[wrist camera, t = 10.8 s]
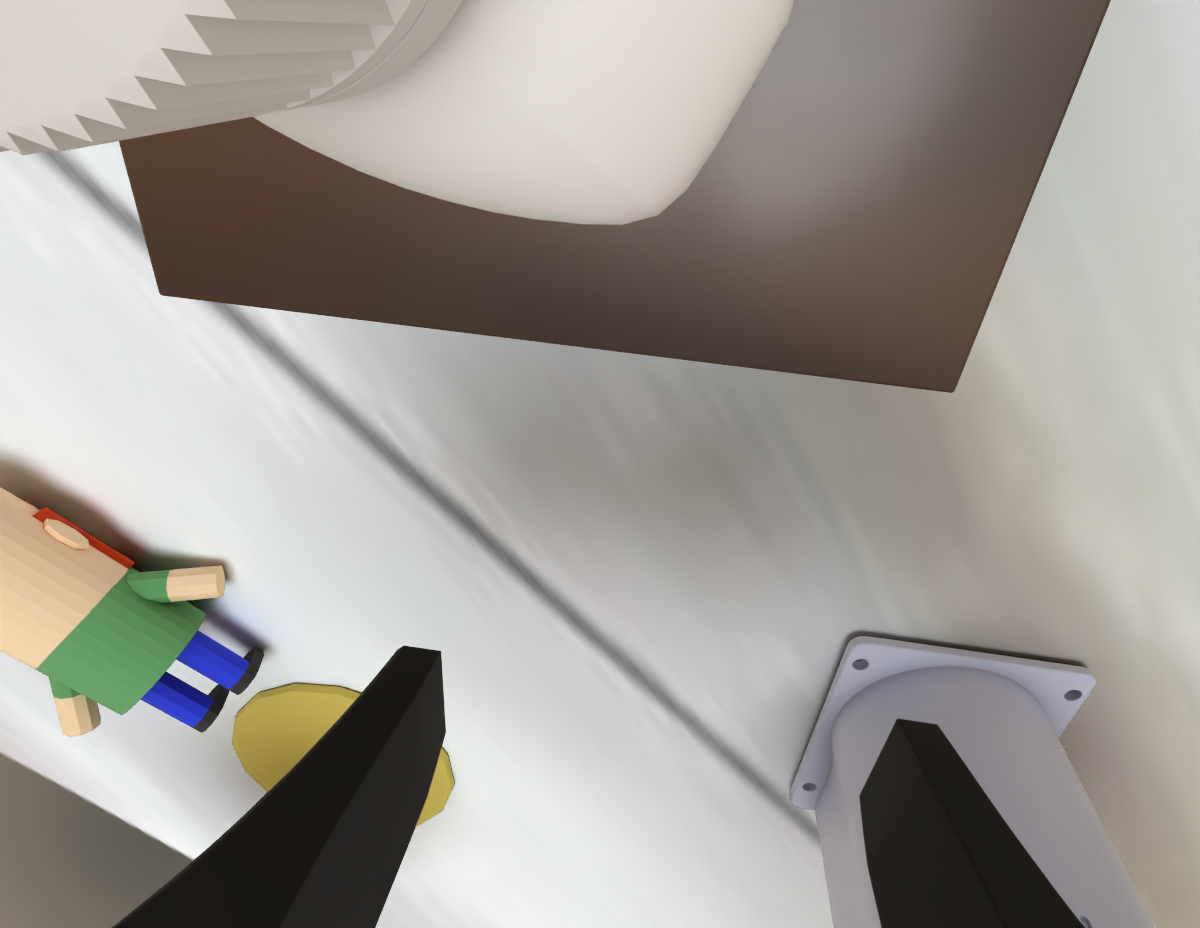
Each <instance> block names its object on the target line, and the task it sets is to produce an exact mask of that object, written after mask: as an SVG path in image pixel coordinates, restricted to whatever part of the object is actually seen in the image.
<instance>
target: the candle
mask: <svg viewBox="0 0 1200 928" xmlns="http://www.w3.org/2000/svg"><path fill="white" fill-rule="evenodd" d="M359 695H360V693H357V692H354V691H351V690H348V689H345V688H342V687H337V686H324V685H310V684H297V683H294V684H290V685H287V686H283V687H279V688H275V689H271V690H267V691H263V692H259V693H258V694H257V695H256V696H255V697H254V698H253V699H252V700H250V701H249V702H248V703H247V704H246V705H245V706H244V707H243V708H242V709H241V710H240V711H239V712H238V713H237V715H236V717H235V725H234V733H233V741H232V745H233V747H234V749H235V751H236V753H237V755H238V757H239V759H240V761H241V763H242V765H243V767H244V769H245V771H246V772H247V773H248V774H249V775H250V776H251V777H252V778H253V779H254V780H255V781H257V782H258V783H259V784H260V785H261V786H262V787H263V788H264V789H265V790H266V791H267V792H268V791H269V790H271V789H272V788H273V787H274V786H275V785H276V784H277V783H278V782H279V781H280V780H281V779H282V778H283V777H284V776H285V775H286V774H287V773H288V772H289V771H290V770H291V769H292V768H293V767H294V766H295V765H296V764H297V763H298V762H299V761H300V760H301V759H302V758H303V757H304V756H305V754H306V753H307V752H308V751H309V750H310V749H311V748H312V747H313V746H314V745H315V744H316V743H317V742H318V741H319V739H320V738H321V737H322V736H323V735H324V734H325V733H326V732H327V731H328V730H329V729H330V728H331V727H332V726H333V725H334V723H335V722H336V721H337V720H338V719H339V718H340V717H341V716H342V715H343V714H344V712H345V711H346V710H347V709H348V708H349V707H350V706H351V705H352V703H353V702H354V701H355V700H356V699H357V698H358V697H359ZM454 783H455V782H454V778H453V774H452V770H451V765H450V761H449V757H448V755H447V753H446V752H445V751H444V750H443V749H442V748H441V751H440V755H439V759H438V762H437V766H436V769H435V773H434V776H433V780H432V783H431V786H430V790H429V793H428V797H427V799H426V802H425V804H424V807H423V809H422V812H421V814H420V817H419V820H418V822H417V825H416V826H418V825H420V824H422V823H423V822H425V821H427V820H428V819H430V818H431V817H433V816H435V815H436V814H438V813H440V812H441V811H442V810H443V809H444V806H445V804H446V802H447V800H448V798H449V795H450V793H451V791H452V789H453V786H454Z"/></svg>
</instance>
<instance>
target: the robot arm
mask: <svg viewBox="0 0 1200 928" xmlns="http://www.w3.org/2000/svg"><path fill="white" fill-rule="evenodd" d="M858 659H864V660H861V661H856V660H858ZM1095 684H1096V679H1095V677H1094V676H1093V674H1092V672H1091V671H1090V670H1089V669H1087V668H1085V667H1081V666H1074V665H1067V664H1060V663H1053V662H1046V661H1039V660H1032V659H1025V658H1018V657H1010V656H1003V655H996V654H989V653H982V652H975V651H968V650H961V649H954V648H947V647H940V646H933V645H926V644H919V643H912V642H905V641H898V640H891V639H884V638H877V637H870V636H859V637H855V638H854V639H852V640H851V641H850V642H849V643H848V645H847V647H846V650H845V652H844V655H843V658H842V660H841V663H840V665H839V668H838V670H837V673H836V675H835V678H834V680H833V683H832V685H831V688H830V691H829V693H828V696H827V698H826V701H825V703H824V706H823V708H822V711H821V713H820V716H819V719H818V721H817V724H816V726H815V729H814V731H813V734H812V736H811V739H810V741H809V744H808V746H807V749H806V752H805V754H804V757H803V759H802V762H801V764H800V767H799V769H798V772H797V774H796V777H795V780H794V782H793V785H792V787H791V790H790V802H791V803H792V804H793V805H794V806H796V807H798V808H802V809H809V810H815V813H816V819H817V825H818V831H819V838H820V844H821V850H822V857H823V863H824V869H825V876H826V882H827V888H828V894H829V901H830V907H831V913H832V920H833V926H834V928H1157V927H1156V925H1155V923H1154V921H1153V919H1152V917H1151V915H1150V913H1149V912H1148V910H1147V908H1146V906H1145V904H1144V902H1143V900H1142V898H1141V896H1140V894H1139V892H1138V890H1137V889H1136V887H1135V885H1134V883H1133V881H1132V879H1131V877H1130V875H1129V873H1128V871H1127V869H1126V867H1125V866H1124V864H1123V862H1122V860H1121V858H1120V856H1119V854H1118V852H1117V850H1116V848H1115V846H1114V844H1113V843H1112V841H1111V839H1110V837H1109V835H1108V833H1107V831H1106V829H1105V827H1104V825H1103V823H1102V821H1101V820H1100V818H1099V816H1098V814H1097V812H1096V810H1095V808H1094V806H1093V804H1092V802H1091V800H1090V798H1089V797H1088V795H1087V793H1086V791H1085V789H1084V787H1083V785H1082V783H1081V781H1080V779H1079V777H1078V775H1077V774H1076V772H1075V770H1074V768H1073V766H1072V764H1071V762H1070V760H1069V758H1068V756H1067V754H1066V752H1065V751H1064V749H1063V747H1062V745H1061V743H1060V741H1059V739H1058V738H1059V737H1060V735H1061V734H1062V732H1063V731H1064V730H1065V728H1066V727H1067V725H1068V724H1069V722H1070V721H1071V720H1072V718H1073V717H1074V715H1075V714H1076V712H1077V711H1078V710H1079V708H1080V707H1081V705H1082V704H1083V702H1084V701H1085V700H1086V698H1087V697H1088V695H1089V694H1090V692H1091V691H1092V690H1093V688H1094V687H1095ZM445 733H446V729H445V712H444V695H443V678H442V660H441V651H437V650H430V649H423V648H416V647H409V646H403V647H401V648H400V649H398V650H397V651H396V652H395V654H394V655H393V656H392V657H391V658H390V660H389V661H388V662H387V663H386V665H385V666H384V667H383V668H382V669H381V671H380V672H379V673H378V674H377V675H376V677H375V678H374V679H373V680H372V681H371V683H370V684H369V685H368V686H367V687H366V688H365V690H364V691H363V692H362V693H361V694H360V695H359V697H358V698H357V699H356V700H355V701H354V702H353V703H352V705H351V706H350V707H349V708H348V709H347V710H346V711H345V712H344V714H343V715H342V716H341V717H340V718H339V719H338V720H337V721H336V722H335V723H334V725H333V726H332V727H331V728H330V729H329V730H328V731H327V732H326V733H325V734H324V735H323V736H322V737H321V738H320V739H319V741H318V742H317V743H316V744H315V745H314V746H313V747H312V748H311V749H310V750H309V751H308V752H307V753H306V754H305V756H304V757H303V758H302V759H301V760H300V761H299V762H298V763H297V764H296V765H295V766H294V767H293V768H292V769H291V770H290V771H289V772H288V773H287V774H286V775H285V776H284V777H283V778H282V779H281V780H280V781H279V782H278V783H277V784H276V785H275V786H274V787H273V788H272V789H271V790H269V791H268V792H267V793H266V794H265V795H264V796H263V797H262V798H261V799H260V800H259V801H258V802H257V803H256V804H255V805H254V806H253V807H252V808H251V809H250V810H249V811H248V812H247V813H246V814H245V815H244V816H243V817H242V818H241V819H239V820H238V821H237V822H236V823H235V824H234V825H233V826H232V827H231V828H230V829H229V830H228V831H226V832H225V833H224V834H223V835H222V836H221V837H220V838H219V839H218V840H216V841H215V842H214V843H213V844H212V845H211V846H210V847H209V848H208V849H206V850H205V851H204V852H203V853H202V854H201V855H199V856H198V857H197V858H196V859H195V860H194V861H193V862H191V863H190V864H189V865H188V866H187V867H186V868H184V869H183V870H182V871H181V872H180V873H179V874H177V875H176V876H175V877H174V878H173V879H172V880H170V881H169V882H168V883H167V884H166V885H164V886H163V887H162V888H160V889H159V890H158V891H157V892H156V893H154V894H153V895H152V896H151V897H149V898H148V899H147V900H146V901H145V902H143V903H142V904H141V905H140V906H138V907H137V908H136V909H135V910H133V911H132V912H131V913H130V914H128V915H127V916H126V917H125V918H124V919H122V920H121V921H120V922H119V923H117V924H116V925H115V926H114V927H112V928H375V927H376V924H377V922H378V919H379V917H380V914H381V912H382V909H383V907H384V904H385V902H386V899H387V897H388V894H389V892H390V889H391V887H392V884H393V882H394V880H395V877H396V875H397V872H398V870H399V867H400V865H401V862H402V860H403V857H404V855H405V852H406V850H407V847H408V845H409V842H410V840H411V837H412V835H413V832H414V830H415V827H416V825H417V822H418V820H419V817H420V814H421V812H422V809H423V807H424V804H425V802H426V799H427V797H428V793H429V790H430V786H431V783H432V780H433V776H434V773H435V769H436V766H437V762H438V759H439V755H440V751H441V748H442V744H443V740H444V737H445Z"/></svg>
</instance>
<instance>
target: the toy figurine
mask: <svg viewBox="0 0 1200 928" xmlns="http://www.w3.org/2000/svg"><path fill="white" fill-rule="evenodd" d="M134 563H135V562H134V561H133V560H131V559H129V558H128V557H126V556H125V555H123V554H121V553H120V552H118V551H117V550H115V549H113V548H111V547H110V546H108V545H106V544H105V543H103V542H102V541H100V540H98V539H97V538H95V537H94V536H92V535H90V534H89V533H87V532H86V531H84V530H82V529H81V528H79V527H78V526H76V525H74V524H73V523H71V522H70V521H68V520H66V519H65V518H63V517H61V516H60V515H58V514H57V513H55V512H53V511H52V510H50V509H49V508H47V507H45V508H43V509H41V510H38V509H37V508H35V507H34V505H32V504H31V503H29V502H27V501H23V500H21V499H20V498H18V497H16V496H15V495H13V494H11V493H10V492H8V491H6V490H5V489H3V488H0V651H2V652H4V653H6V654H8V655H9V656H11V657H13V658H15V659H17V660H19V661H21V662H22V663H24V664H26V665H28V666H30V667H32V668H34V669H36V670H37V671H39V672H41V673H43V674H45V675H47V676H49V680H50V684H51V688H52V692H53V696H54V700H55V704H56V708H57V712H58V716H59V720H60V724H61V728H62V732H63V734H64V735H66V736H69V737H72V736H79V735H83V734H85V733H88V732H90V731H92V730H94V729H95V728H96V727H97V726H98V725H100V722H101V717H100V713H99V708H98V704H97V702H98V703H99V704H101V705H103V706H105V707H107V708H109V709H111V710H113V711H115V712H116V713H118V714H120V715H123V714H124V713H126V712H127V711H128V710H130V709H131V708H132V707H133V706H134V705H135V704H136V703H137V702H138V701H139V700H140V699H141V700H143V701H145V702H146V703H148V704H150V705H152V706H154V707H156V708H157V709H159V710H161V711H163V712H165V713H166V714H168V715H170V716H172V717H174V718H176V719H177V720H179V721H181V722H183V723H185V724H187V725H188V726H190V727H192V728H194V729H196V730H198V731H199V732H201V733H202V732H204V731H206V729H207V728H208V727H209V726H210V725H211V724H212V723H213V722H214V720H215V719H216V718H217V716H218V715H219V713H220V711H221V710H222V708H223V706H224V703H225V701H226V698H227V696H228V693H229V690H230V691H232V692H233V693H235V694H237V695H239V694H241V693H242V692H243V691H244V690H245V689H246V688H247V687H248V686H249V684H250V683H251V682H252V680H253V679H254V678H255V676H256V674H257V672H258V670H259V668H260V665H261V662H262V659H263V657H264V653H263V652H261V651H260V650H258V649H257V648H253V649H251V650H250V651H249V652H248V653H247V654H246V656H245V657H244V658H242V657H241V656H239V655H237V654H236V653H234V652H232V651H231V650H229V649H227V648H226V647H224V646H222V645H221V644H219V643H218V642H216V641H214V640H213V639H211V638H209V637H208V636H206V635H204V634H203V633H201V632H199V631H198V629H199V627H200V626H201V624H202V622H203V621H204V619H205V616H206V613H205V612H203V611H201V610H200V609H198V608H197V607H195V606H193V605H192V604H190V603H188V602H187V601H185V600H196V599H206V598H217V597H221V596H223V594H224V590H225V574H224V569H223V568H222V566H221V565H220V566H208V567H196V568H185V569H173V570H161V571H149V572H139V571H137V570H135V569H134V568H132V567H131V566H132V565H133V564H134ZM176 659H177V660H178V661H180V662H182V663H184V664H185V665H187V666H189V667H190V668H192V669H194V670H196V671H197V672H199V673H201V674H202V675H204V676H206V677H208V678H209V679H211V680H213V681H214V682H216V683H218V685H217V686H216V687H215V688H214V689H213V690H212V691H211V692H210V693H209V695H206V694H204V693H203V692H201V691H199V690H197V689H196V688H194V687H192V686H190V685H189V684H187V683H185V682H183V681H182V680H180V679H178V678H176V677H175V676H173V675H171V674H169V673H168V672H166V671H167V669H168V668H169V667H170V666H171V665H172V663H173V662H174V661H175V660H176Z"/></svg>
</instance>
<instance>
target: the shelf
mask: <svg viewBox="0 0 1200 928" xmlns="http://www.w3.org/2000/svg"><path fill="white" fill-rule="evenodd" d="M1110 1H1111V0H794V3H793V7H792V10H791V14H790V17H789V20H788V21H787V23H786V25H785V27H784V29H783V31H782V33H781V34H780V36H779V38H778V40H777V42H776V44H775V46H774V47H773V49H772V51H771V53H770V55H769V57H768V59H767V61H766V63H765V65H764V66H763V68H762V70H761V72H760V73H759V75H758V77H757V78H756V80H755V82H754V83H753V85H752V87H751V89H750V90H749V92H748V94H747V95H746V97H745V99H744V101H743V102H742V104H741V106H740V107H739V109H738V111H737V112H736V114H735V116H734V117H733V119H732V121H731V122H730V124H729V126H728V127H727V129H726V130H725V132H724V134H723V135H722V137H721V139H720V140H719V142H718V144H717V145H716V147H715V149H714V150H713V152H712V153H711V155H710V156H709V158H708V159H707V161H706V162H705V164H704V165H703V167H702V168H701V170H700V171H699V173H698V174H697V176H696V177H695V178H694V180H693V181H692V183H691V184H690V186H689V187H688V189H687V190H686V191H685V192H684V193H683V194H681V195H680V196H679V197H678V198H677V199H676V200H675V201H674V202H672V203H671V204H670V205H669V206H668V207H667V208H666V209H665V210H663V211H662V212H661V213H660V214H659V215H657V216H654V217H650V218H646V219H642V220H639V221H635V222H631V223H627V224H624V225H600V224H576V223H568V222H558V221H547V220H537V219H530V218H524V217H518V216H512V215H506V214H500V213H494V212H490V211H486V210H482V209H478V208H473V207H469V206H465V205H461V204H457V203H453V202H449V201H445V200H442V199H439V198H435V197H432V196H429V195H426V194H422V193H419V192H416V191H412V190H409V189H406V188H402V187H400V186H397V185H395V184H392V183H389V182H387V181H384V180H381V179H379V178H376V177H373V176H371V175H368V174H366V173H363V172H360V171H358V170H356V169H354V168H352V167H349V166H347V165H345V164H343V163H341V162H338V161H336V160H334V159H332V158H330V157H327V156H325V155H323V154H321V153H319V152H316V151H314V150H312V149H310V148H308V147H306V146H304V145H302V144H300V143H299V142H297V141H295V140H293V139H291V138H289V137H287V136H285V135H284V134H282V133H280V132H278V131H276V130H274V129H272V128H270V127H269V126H267V125H265V124H263V123H262V122H260V121H259V120H257V119H255V118H254V117H248V118H242V119H237V120H231V121H226V122H220V123H215V124H209V125H204V126H198V127H192V128H187V129H181V130H176V131H170V132H165V133H159V134H154V135H148V136H143V137H137V138H131V139H126V140H120V141H119V143H120V147H121V151H122V154H123V158H124V162H125V166H126V169H127V173H128V177H129V181H130V185H131V188H132V192H133V196H134V200H135V203H136V207H137V211H138V215H139V218H140V222H141V226H142V230H143V233H144V237H145V241H146V245H147V248H148V252H149V256H150V260H151V263H152V267H153V271H154V275H155V278H156V282H157V286H158V290H159V293H160V295H163V296H171V297H180V298H188V299H196V300H204V301H212V302H220V303H228V304H236V305H244V306H253V307H261V308H269V309H277V310H285V311H293V312H301V313H309V314H317V315H326V316H334V317H342V318H350V319H358V320H366V321H374V322H382V323H390V324H399V325H407V326H415V327H423V328H431V329H439V330H447V331H455V332H463V333H471V334H480V335H488V336H496V337H504V338H512V339H520V340H528V341H536V342H544V343H553V344H561V345H569V346H577V347H585V348H593V349H601V350H609V351H617V352H626V353H634V354H642V355H650V356H658V357H666V358H674V359H682V360H690V361H699V362H707V363H715V364H723V365H731V366H739V367H747V368H755V369H763V370H772V371H780V372H788V373H796V374H804V375H812V376H820V377H828V378H836V379H845V380H853V381H861V382H869V383H877V384H885V385H893V386H901V387H909V388H917V389H926V390H934V391H942V392H950V393H952V392H954V391H955V389H956V386H957V384H958V381H959V379H960V376H961V374H962V371H963V369H964V366H965V363H966V361H967V358H968V356H969V353H970V351H971V348H972V346H973V343H974V341H975V338H976V336H977V333H978V331H979V328H980V326H981V323H982V321H983V318H984V316H985V313H986V311H987V308H988V306H989V303H990V301H991V298H992V296H993V293H994V291H995V288H996V286H997V283H998V281H999V278H1000V276H1001V273H1002V271H1003V268H1004V266H1005V263H1006V261H1007V258H1008V256H1009V253H1010V251H1011V248H1012V246H1013V243H1014V241H1015V238H1016V236H1017V233H1018V231H1019V228H1020V226H1021V223H1022V221H1023V218H1024V216H1025V213H1026V211H1027V208H1028V206H1029V203H1030V201H1031V198H1032V196H1033V193H1034V191H1035V188H1036V186H1037V183H1038V181H1039V178H1040V176H1041V173H1042V171H1043V168H1044V166H1045V163H1046V161H1047V158H1048V156H1049V153H1050V151H1051V148H1052V146H1053V143H1054V141H1055V138H1056V136H1057V133H1058V131H1059V128H1060V126H1061V123H1062V121H1063V118H1064V116H1065V113H1066V111H1067V108H1068V106H1069V103H1070V101H1071V98H1072V96H1073V93H1074V91H1075V88H1076V86H1077V83H1078V81H1079V78H1080V76H1081V73H1082V71H1083V68H1084V66H1085V63H1086V61H1087V58H1088V56H1089V53H1090V51H1091V48H1092V46H1093V43H1094V41H1095V38H1096V36H1097V33H1098V31H1099V28H1100V26H1101V23H1102V21H1103V18H1104V16H1105V13H1106V11H1107V8H1108V6H1109V3H1110Z"/></svg>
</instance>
